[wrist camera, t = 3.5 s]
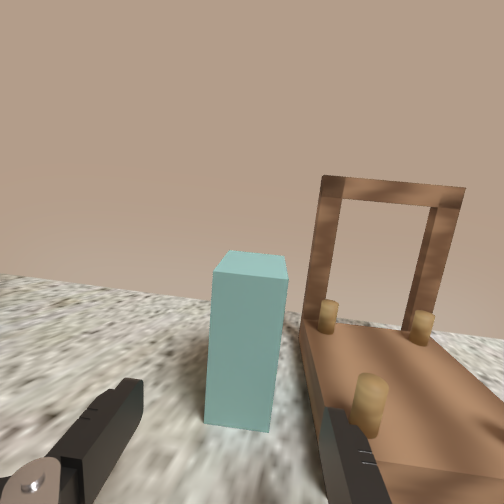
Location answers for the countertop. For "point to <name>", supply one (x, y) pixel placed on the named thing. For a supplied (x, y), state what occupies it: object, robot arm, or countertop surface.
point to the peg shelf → (402, 365)
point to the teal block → (245, 339)
